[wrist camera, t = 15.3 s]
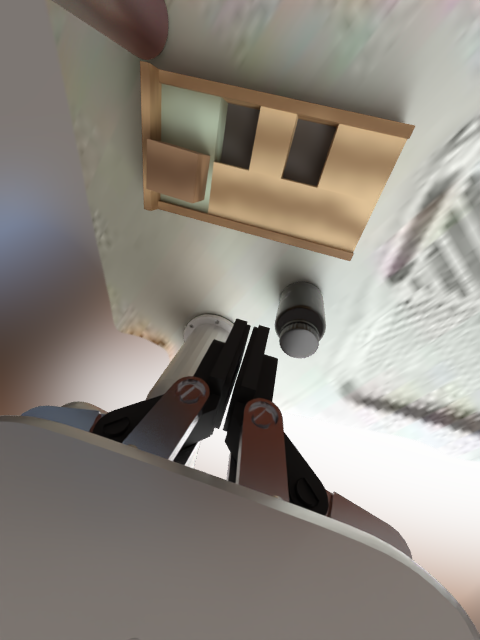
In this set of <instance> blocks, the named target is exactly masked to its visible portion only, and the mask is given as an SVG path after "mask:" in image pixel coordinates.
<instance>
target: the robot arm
mask: <svg viewBox="0 0 480 640" xmlns="http://www.w3.org/2000/svg"><path fill="white" fill-rule="evenodd" d="M249 330H250V325H247V321H243V320H240V319H236V321H235V323H234V324H233V323H232V322H230V321H229V320H227V319H225V318H223V317H220V316H217V315H211V314H205V315H200V316H197V317H195V318H194V319H192V320H191V321H190V322H189V323H188V324H187V326H186V327H185V330H184V335H183V338H184V344H183V345H182V347H181V348H180V350H179V351H178V352H177V354H176V355H175V357H174V358H173V359H172V361H171V362H170V364H169V365H168V367H167V368H166V369H165V371H164V372H163V374H162V375H161V377H160V378H159V379H158V381H157V382H156V384H155V385H154V387H153V388H152V389H151V391H150V392H149V394H148V396H147V398H146V400H145V401H141V402H139V403H135V404H132V405H129V406H126V407H123V408H120V409H117V410H114V411H111V412H109V413H108V412H106V411H104V410H102V409H101V408H99V407H96V406H94V405H92V404H89V403H86V402H71V403H68V404H65V405H63V406H61V407H57V406H38V407H35V408H32V409H30V410H28V411H26V412H24V413H23V414H22V415H21V416H6V415H4V416H0V640H480V634H479V632H478V631H477V629H476V627H475V625H474V624H473V622H472V621H471V619H470V618H469V616H468V615H467V613H466V612H465V610H464V609H463V608H462V607H461V605H460V604H459V603H458V602H457V600H456V599H455V598H454V597H453V596H452V595H451V594H450V593H449V592H448V591H447V589H446V588H445V587H443V585H441V584H440V583H439V582H438V581H437V580H436V579H435V578H434V577H433V576H432V575H431V574H429V573H428V572H427V571H426V570H425V569H424V568H422V567H421V566H420V565H419V564H418V563H416V562H415V561H414V560H412V556H411V552H410V549H409V548H408V546H407V544H406V542H405V540H404V539H403V538H402V536H401V535H400V534H399V532H398V531H396V530H395V529H394V528H393V527H391V526H390V525H389V524H387V523H385V522H384V521H382V520H380V519H379V518H377V517H375V516H373V515H372V514H370V513H369V512H367V511H366V510H364V509H362V508H361V507H359V506H357V505H356V504H354V503H352V502H351V501H349V500H347V499H346V498H344V497H342V496H341V495H339V494H337V493H336V492H333V493H330V492H329V491H327V490H325V488H324V486H323V484H322V483H321V481H320V480H319V478H318V477H317V476H316V474H315V473H314V472H313V470H312V469H311V468H310V466H309V465H308V464H307V462H306V461H305V460H304V458H303V457H302V456H301V454H300V453H299V451H298V450H297V449H296V447H295V446H294V445H293V444H292V442H291V441H290V439H289V438H288V437H287V435H286V434H285V433H284V430H283V418H282V414H281V411H280V410H279V408H278V407H277V406H276V405H275V404H274V403H273V402H272V398H273V391H274V384H275V377H276V370H277V363H278V358H274V357H271V356H268V355H265V354H264V352H265V347H266V343H267V338H268V334H269V330H270V328H267V327H264V326H260V325H259V327H258V328H257V327H254V328H253V331H252V334H251V337H250V340H249V343H248V346H247V350H246V353H245V356H244V359H243V362H242V365H241V368H240V364H241V360H242V357H243V353H244V350H245V345H246V342H247V338H248V334H249ZM239 368H240V371H239ZM238 371H239V374H238ZM237 374H238V377H237ZM236 377H237V380H236ZM235 380H236V383H235ZM234 383H235V387H234V390H233V394H232V398H231V402H230V405H229V409H228V413H227V417H226V421H225V424H224V428H223V430H224V431H227V436H226V439H225V443H226V445H227V446H228V448H229V450H230V455H229V464H228V473H227V480H224V479H221V478H219V477H216V476H213V475H210V474H207V473H205V472H202V471H199V470H196V469H194V465H195V460H196V457H197V453H198V449H199V446H200V443H201V440H203V439H205V438H207V437H210V435H212V433H213V431H214V428H218V429H219V427H220V425H221V422H222V419H223V416H224V413H225V410H226V406H227V404H228V401H229V398H230V395H231V392H232V389H233V386H234Z"/></svg>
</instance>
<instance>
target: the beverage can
mask: <svg viewBox="0 0 480 640" xmlns="http://www.w3.org/2000/svg"><path fill="white" fill-rule="evenodd" d="M52 1H54V2H55V3H57V4H58V5H60V6H61V7H63V8H64V9H66V10H67V11H69V12H70V13H72V14H73V15H75V16H76V17H78V18H79V19H81V20H82V21H84V22H85V23H87V24H88V25H90V26H92V27H93V28H95V29H96V30H98V31H99V32H101V33H102V34H104V35H105V36H107V37H108V38H110V39H111V40H113V41H114V42H116V43H117V44H119V45H120V46H122V47H123V48H125V49H126V50H128V51H129V52H131V53H132V54H134V55H136V56H137V57H139V58H141V59H144V60H150V59H153V58H155V57H156V56H158V55H159V54H160V53H161V51H162V50H163V48H164V46H165V44H166V40H167V36H168V13H167V8H166V5H165V2H164V0H52Z"/></svg>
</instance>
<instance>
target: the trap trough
mask: <svg viewBox="0 0 480 640" xmlns="http://www.w3.org/2000/svg"><path fill="white" fill-rule="evenodd" d="M140 75H141V113H142V151H143V188H144V209H146V210H150V211H152V210H156V209H161V210H164V211H168V212H172V213H175V214H179V215H183V216H186V217H190V218H194V219H197V220H201V221H205V222H208V223H212V224H216V225H219V226H223V227H227V228H230V229H234V230H238V231H241V232H245V233H249V234H252V235H256V236H260V237H263V238H267V239H271V240H274V241H278V242H282V243H285V244H289V245H293V246H296V247H300V248H304V249H307V250H311V251H315V252H318V253H322V254H326V255H329V256H333V257H337V258H340V259H344V260H348V261H350V260H351V258H352V256H353V251H354V249H355V247H356V245H357V243H358V241H359V239H360V237H361V235H362V232H363V230H364V228H365V226H366V224H367V222H368V220H369V218H370V216H371V214H372V212H373V210H374V207H375V205H376V203H377V201H378V199H379V197H380V195H381V193H382V191H383V189H384V187H385V184H386V182H387V180H388V178H389V176H390V174H391V172H392V170H393V168H394V166H395V164H396V161H397V159H398V157H399V155H400V153H401V151H402V149H403V147H404V145H405V143H406V141H407V139H409V138H410V136H411V134H412V132H413V130H414V128H415V126H414V125H409V124H405V123H400V122H396V121H391V120H387V119H382V118H378V117H373V116H369V115H364V114H359V113H355V112H350V111H346V110H341V109H337V108H332V107H328V106H323V105H319V104H314V103H310V102H305V101H300V100H296V99H291V98H287V97H282V96H278V95H273V94H269V93H264V92H260V91H255V90H251V89H246V88H241V87H237V86H232V85H228V84H223V83H219V82H214V81H210V80H205V79H201V78H196V77H192V76H187V75H182V74H178V73H173V72H169V71H164V70H160V69H158V68H156V67H155V66H153V65H152V64H150V63H148V62H143V61H140ZM147 139H151V140H156V141H162V142H166V143H170V144H173V145H176V146H179V147H183V148H186V149H189V150H193V151H196V152H199V153H203V154H206V155H209V156H210V163H209V170H208V177H207V184H206V191H205V198H204V200H202V201H199V202H196V203H193V204H192V203H189V202H186V201H183V200H180V199H177V198H173V197H170V196H167V195H164V194H161V193H158V192H154V191H151V190H148V189H146V177H147Z"/></svg>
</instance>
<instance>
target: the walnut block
mask: <svg viewBox="0 0 480 640" xmlns="http://www.w3.org/2000/svg"><path fill="white" fill-rule="evenodd" d="M209 163H210V156H209V155H206V154H203V153H199V152H196V151H193V150H189V149H186V148H183V147H179V146H176V145H173V144H170V143H166V142H162V141H156V140H151V139H147V177H146V189H148V190H151V191H154V192H158V193H161V194H164V195H167V196H170V197H173V198H177V199H180V200H183V201H186V202H189V203H192V204H193V203H196V202H199V201H202V200H204V198H205V191H206V184H207V177H208V170H209Z"/></svg>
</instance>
